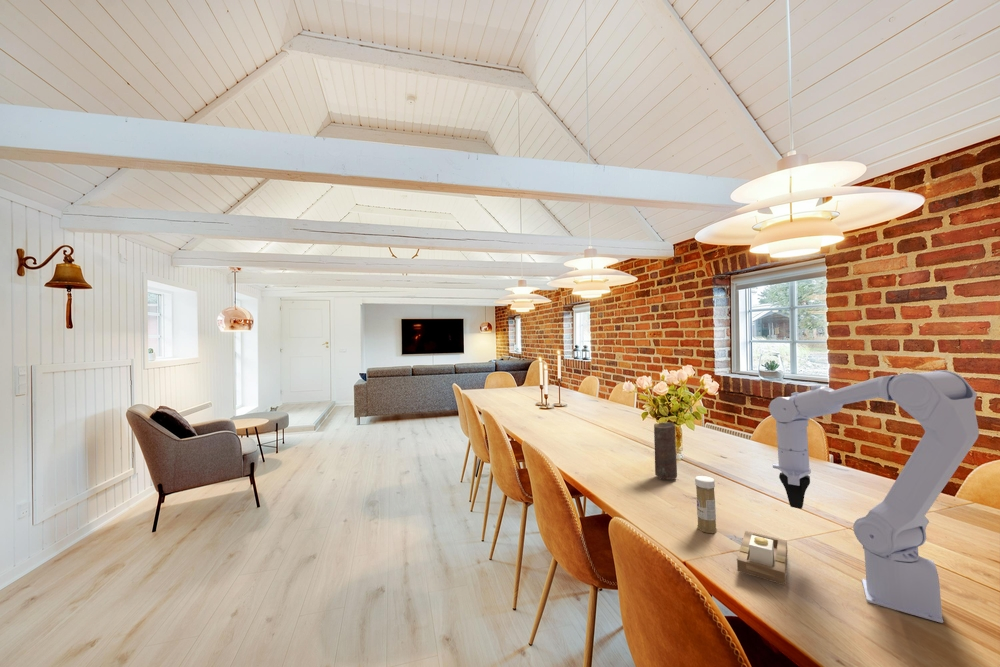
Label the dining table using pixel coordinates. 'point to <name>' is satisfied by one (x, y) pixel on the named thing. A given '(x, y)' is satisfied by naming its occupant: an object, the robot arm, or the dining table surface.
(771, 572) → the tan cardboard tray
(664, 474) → the candle
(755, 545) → the block
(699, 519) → the sprinkles bottle
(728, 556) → the dining table surface
